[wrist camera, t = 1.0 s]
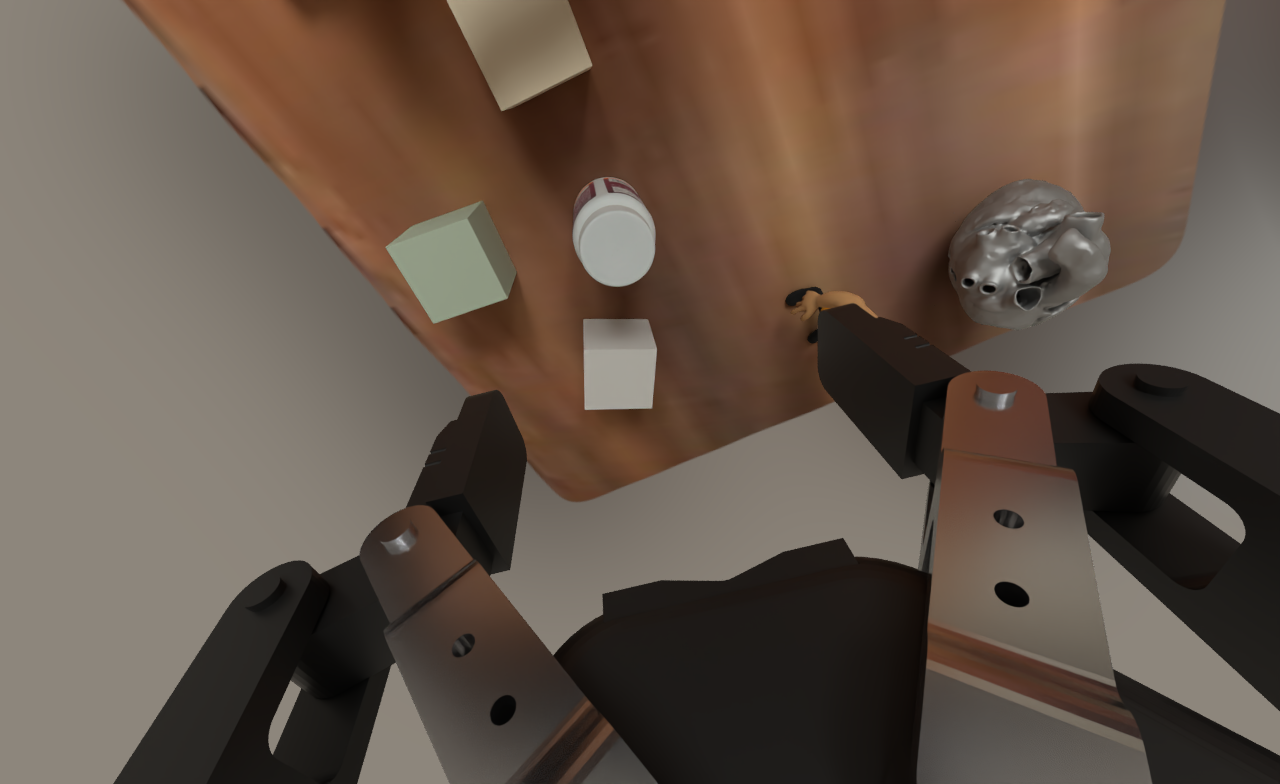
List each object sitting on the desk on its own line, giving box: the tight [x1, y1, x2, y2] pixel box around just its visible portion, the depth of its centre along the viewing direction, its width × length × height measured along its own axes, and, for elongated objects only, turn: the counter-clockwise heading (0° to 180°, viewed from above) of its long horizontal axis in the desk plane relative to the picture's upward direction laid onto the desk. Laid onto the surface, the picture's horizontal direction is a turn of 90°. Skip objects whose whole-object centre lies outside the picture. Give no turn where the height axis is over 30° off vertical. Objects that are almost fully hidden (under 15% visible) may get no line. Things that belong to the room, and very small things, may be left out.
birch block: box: [447, 0, 593, 111], centre depth 23 cm, size 5×5×5 cm
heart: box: [934, 179, 1111, 330], centre depth 30 cm, size 10×10×12 cm
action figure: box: [786, 287, 878, 343], centre depth 30 cm, size 9×4×15 cm, turn 36°
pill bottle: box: [572, 177, 656, 287], centre depth 27 cm, size 5×5×8 cm
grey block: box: [583, 319, 657, 410], centre depth 34 cm, size 5×5×5 cm
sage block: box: [386, 201, 517, 324], centre depth 29 cm, size 5×5×5 cm
